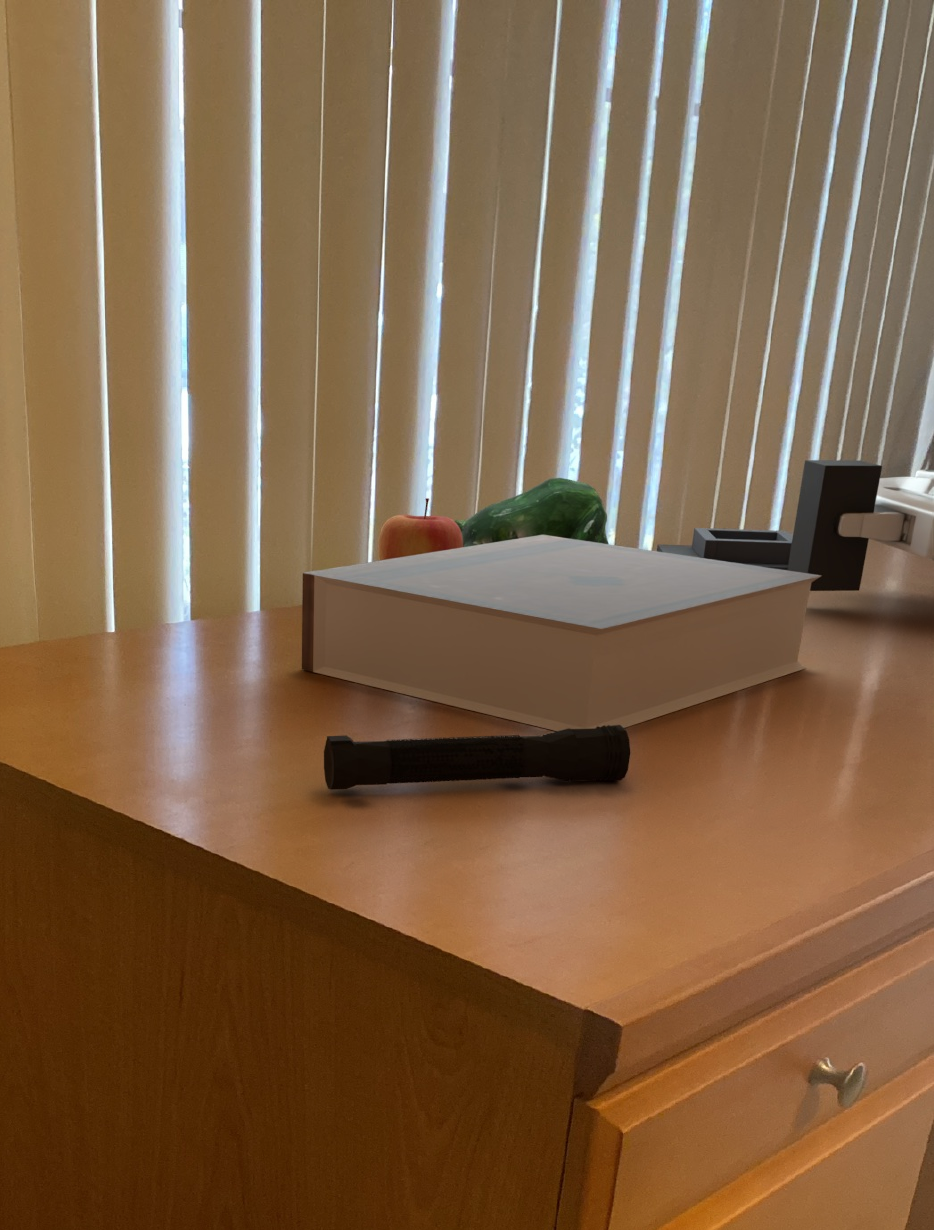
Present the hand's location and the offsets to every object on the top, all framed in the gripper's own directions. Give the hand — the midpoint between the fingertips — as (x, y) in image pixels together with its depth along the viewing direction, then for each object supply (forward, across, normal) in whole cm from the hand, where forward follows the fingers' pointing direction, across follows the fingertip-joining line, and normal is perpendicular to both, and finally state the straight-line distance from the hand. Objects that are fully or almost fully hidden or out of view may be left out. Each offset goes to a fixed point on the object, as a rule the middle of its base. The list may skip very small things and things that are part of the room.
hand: (823, 519), depth 123 cm
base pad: (-3, +22, -8) cm, 23 cm away
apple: (+33, +7, -8) cm, 35 cm away
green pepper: (+21, +16, -8) cm, 28 cm away
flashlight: (+41, -48, -8) cm, 64 cm away
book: (+29, -21, -8) cm, 36 cm away
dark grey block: (-1, 0, -6) cm, 6 cm away
